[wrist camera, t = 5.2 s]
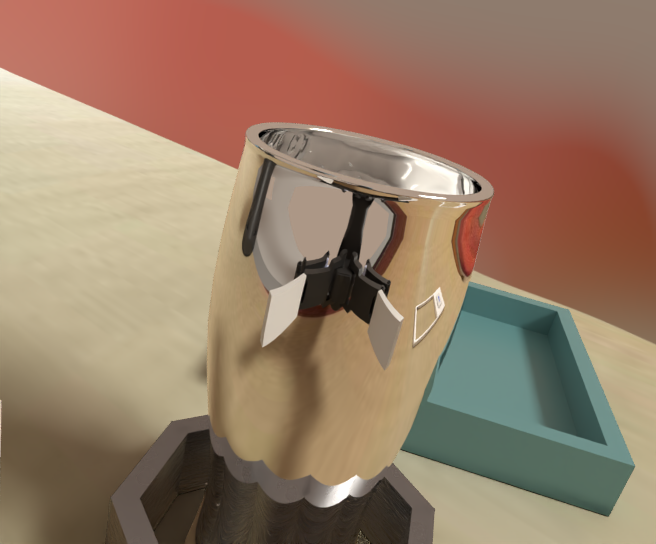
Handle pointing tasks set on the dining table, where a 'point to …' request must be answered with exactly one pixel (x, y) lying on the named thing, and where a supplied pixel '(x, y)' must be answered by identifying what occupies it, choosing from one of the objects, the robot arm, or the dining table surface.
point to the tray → (524, 404)
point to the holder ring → (192, 473)
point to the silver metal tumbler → (327, 326)
